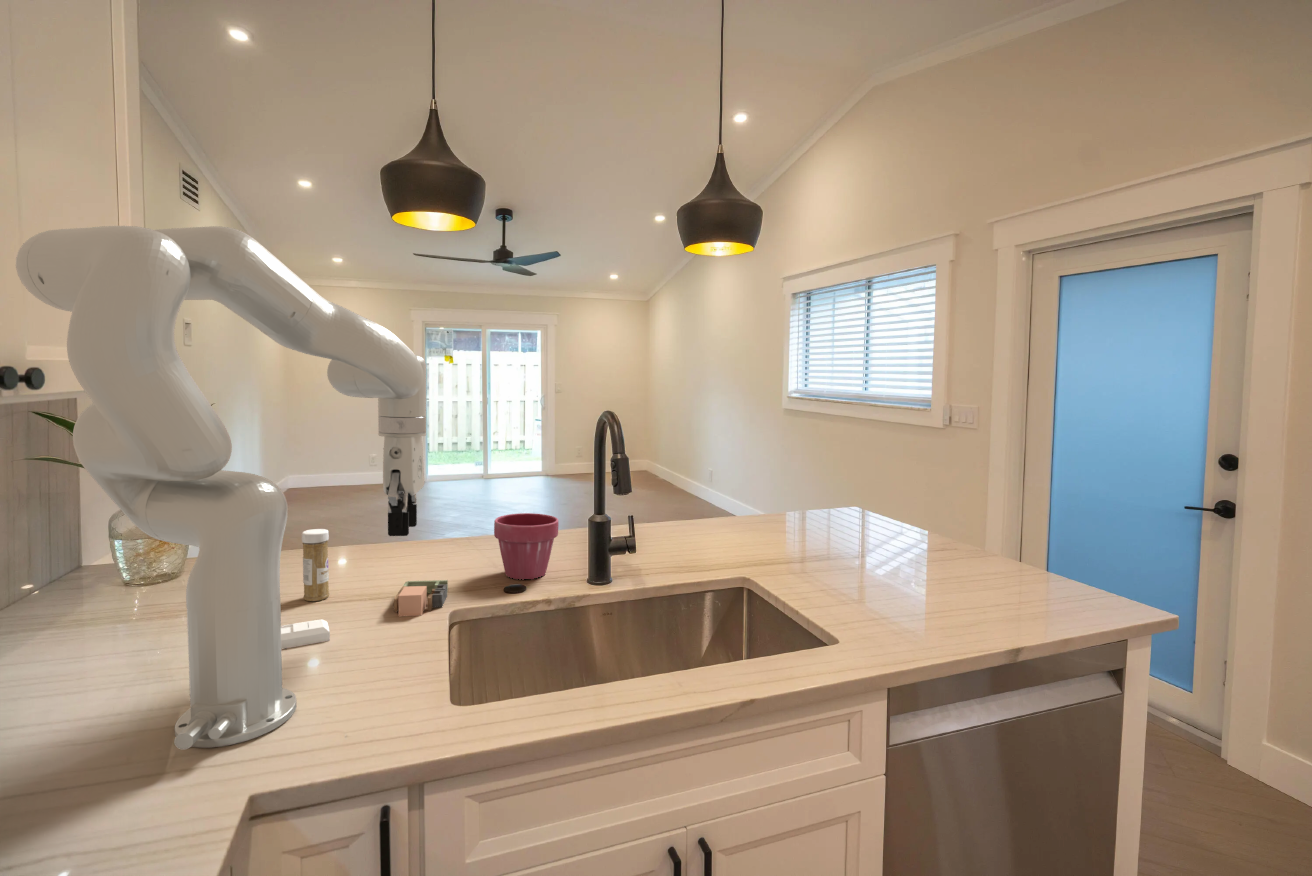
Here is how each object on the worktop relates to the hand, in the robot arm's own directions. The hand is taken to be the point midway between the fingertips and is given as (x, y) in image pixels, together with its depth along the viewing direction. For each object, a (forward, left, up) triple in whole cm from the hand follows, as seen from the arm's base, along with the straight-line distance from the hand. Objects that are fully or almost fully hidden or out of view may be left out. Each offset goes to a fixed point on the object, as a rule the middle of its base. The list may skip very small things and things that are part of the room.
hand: (402, 529), depth 104 cm
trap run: (+12, 0, -18) cm, 22 cm away
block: (+8, 0, -18) cm, 19 cm away
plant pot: (+28, -20, -18) cm, 39 cm away
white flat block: (-4, +16, -18) cm, 24 cm away
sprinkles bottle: (+16, +20, -18) cm, 31 cm away
